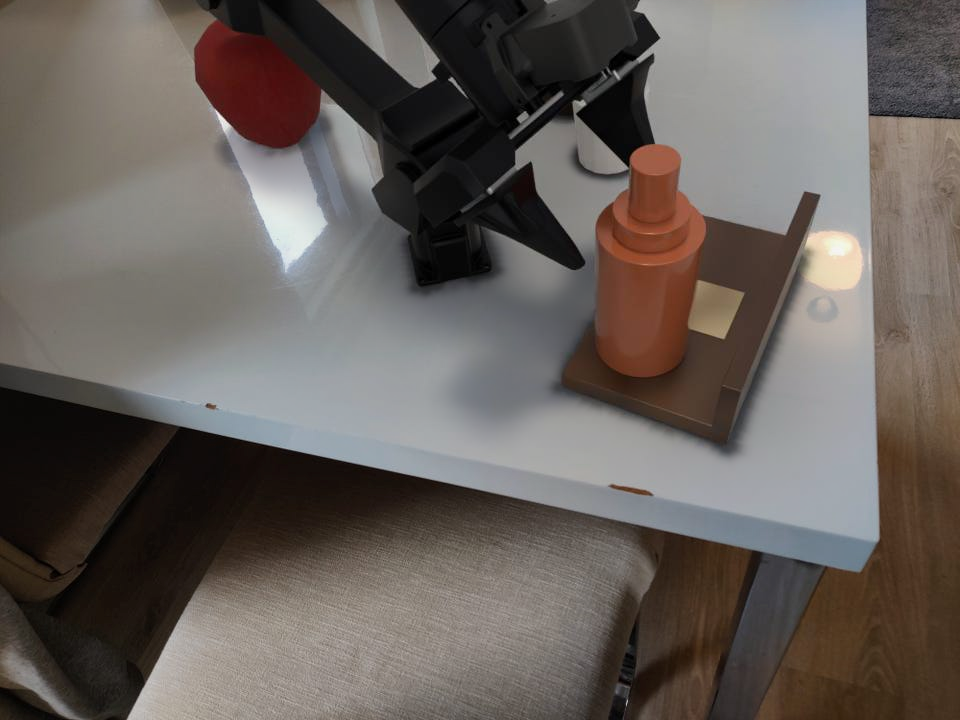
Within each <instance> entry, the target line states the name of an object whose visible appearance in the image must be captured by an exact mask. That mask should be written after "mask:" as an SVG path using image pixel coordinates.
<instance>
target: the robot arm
mask: <svg viewBox="0 0 960 720" xmlns="http://www.w3.org/2000/svg"><path fill="white" fill-rule="evenodd" d="M393 1H394V2H395V4H397V6H398V7H399V9H400V10H401V12H402V13H403V14H404V16H405V17H406V18H407V20H408V21H409V22H410V23H411V25H412V26H413V27H414V28H415V30H416V31H417V32H418V34H419V35H420V36H421V38H422V39H423V40H424V42H425V43H426V45H427V46H428V47H429V49H430V50H431V51H432V52H433V54H434V55H435V57H436V58H437V59H438V62H437V63H436V65H435V66H434V67H433V68H431V69H432V70H430V72H431V74H433V76H434V77H435V79H433V80H432V81H430V82H428V83H426V84H425V85H423V86H421V87H417V86H414V85H413V84H411V83H410V82H409V81H408V80H407V79H406V78H405V77H404V76H402V75H401V74H400V73H399V72H398V71H397V70H396V69H394V68H393V66H392V65H390V64H389V63H388V62H387V61H385V59H383V58H382V57H381V56H380V55H379V54H378V53H377V52H376V51H375V50H374V49H373V48H372V47H370V46H369V45H368V44H367V43H366V42H365V41H363V40H362V39H361V38H360V37H359V36H358V35H357V34H356V33H354V31H353V30H351V28H349V26H347V25H346V24H345V23H343V21H341V20H340V19H339V18H338V17H337V16H336V15H335V14H334V13H333V12H331V10H329V9H328V8H327V7H326V6H325V5H324V4H323V3H321V2H320V1H319V0H195V2H196V3H197V5H198V6H199V7H200V8H201V9H202V10H203V11H205V12H209V13H210V15H212V16H213V17H214V18H215V19H216V20H217V19H218V20H219V21H221V22H222V23H223V24H225V25H226V26H227V27H229V28H230V29H231V30H233V31H235V32H241V33H246V34H252V35H258V36H264V37H267V38H268V39H270V40H271V41H272V42H273V43H274V44H275V45H276V46H277V47H278V48H279V49H280V50H281V51H282V52H283V53H284V54H285V55H286V56H287V57H288V58H289V59H291V60H292V61H293V62H294V63H295V64H296V65H297V66H298V67H299V68H300V69H301V70H302V71H303V72H304V73H305V74H306V75H307V76H308V77H309V78H310V79H312V80H313V81H314V82H315V83H316V84H317V85H318V86H319V87H320V88H321V91H323V92H324V93H325V94H326V95H328V97H329V98H330V99H331V100H332V101H333V102H334V103H335V104H336V105H338V106H339V108H341V110H343V112H345V113H346V114H347V115H348V116H349V117H350V118H351V119H352V120H353V121H354V122H355V123H356V124H357V125H359V126H360V128H361V129H363V130H364V131H365V132H366V133H367V134H368V135H369V136H370V137H371V138H372V139H373V140H374V141H375V142H376V145H377V150H378V155H379V161H380V166H381V171H382V177H381V178H380V180H378V181H377V183H375V185H373V187H371V193H372V195H373V197H374V199H375V202H376V204H377V206H378V208H379V210H380V212H381V213H382V214H383V215H384V216H385V217H387V218H389V219H390V220H391V221H393V222H394V223H396V225H397V224H398V225H399V226H400V227H402V228H403V229H404V230H406V231H407V232H408V233H410V234H408V235H407V242H408V246H409V247H408V248H409V253H410V257H411V258H410V259H411V262H412V266H413V272H414V277H415V282H416V285H417V286H418V287H420V288H424V287H428V286H429V287H430V286H433V285H438V284H443V283H448V282H451V281H456V280H461V279H465V278H470V277H475V276H479V275H483V274H488V273H491V272H492V271H493V270H494V268H493V267H494V266H493V262H492V259H491V255H490V252H489V249H488V245H487V242H486V240H485V236H484V233H483V229H482V228H485V229H486V230H490V231H492V232H495V233H497V234H499V235H502V236H504V237H507V238H509V239H510V240H511V239H512V240H513V241H516V242H517V243H519V244H521V245H523V246H525V247H527V248H529V249H530V250H533V251H535V252H536V253H538V254H540V255H542V256H544V257H546V258H547V259H549V260H551V261H554V262H555V263H557V264H559V265H561V266H563V267H565V268H567V269H568V270H571V271H573V272H574V271H575V272H576V271H578V270H580V269H583V268H584V267H585V265H586V260H585V258H584V256H583V255H582V253H581V251H580V249H579V248H578V247H577V244H576V243H575V241H574V240H573V239H572V237H571V236H570V235H569V233H568V232H567V231H566V229H565V228H564V227H563V225H562V224H561V223H560V221H559V220H558V218H557V217H556V216H555V214H554V213H553V212H552V211H551V209H550V208H549V207H548V205H547V204H546V203H545V201H544V200H543V199H542V196H540V194H539V193H538V190H537V185H536V178H535V171H534V165H533V162H532V161H529V162H528V163H526V164H525V165H523V166H522V167H520V168H519V169H517V168H516V167H515V166H516V151H518V150H519V149H520V148H521V147H522V146H523V145H524V144H526V143H527V142H528V141H529V140H531V138H533V137H534V136H535V135H536V134H537V133H539V132H540V131H541V130H542V129H543V128H544V127H545V126H547V125H548V124H549V123H550V122H551V121H552V120H554V119H555V118H556V117H557V116H558V115H559V113H560V112H562V111H563V110H564V109H565V108H566V107H567V106H569V105H570V104H571V103H572V102H573V101H574V100H575V101H579V102H580V101H582V100H584V101H585V103H586V105H585V106H584V107H583V108H581V109H580V110H579V111H578V112H577V113H576V115H577V116H578V117H579V119H580V120H581V121H582V122H583V123H584V124H585V125H586V126H587V127H588V128H589V129H590V130H591V131H592V132H593V133H594V134H595V135H596V136H597V137H598V138H599V139H600V140H601V141H602V142H603V143H604V144H605V145H606V146H607V147H608V148H609V149H610V150H611V151H612V152H613V153H614V154H615V155H616V156H617V157H618V158H619V159H620V160H621V161H622V162H623V163H624V164H625V165H626V166H627V167H628V168H629V167H630V157H631V155H632V153H633V152H634V151H635V150H636V149H638V148H640V147H642V146H645V145H650V144H656V140H655V137H654V134H653V130H652V127H651V123H650V118H649V114H648V108H647V109H646V104H645V98H644V91H645V86H646V81H647V82H648V76H649V72H650V68H651V67H652V65H654V63H655V58H656V57H655V53H654V52H652V53H650V54H649V55H648V56H647V57H646V58H644V59H643V60H641V61H640V62H639V61H638V59H639V58H640V57H641V56H642V55H643V54H644V53H646V52H647V51H648V50H649V49H651V47H653V46H654V45H655V44H656V43H657V42H658V41H660V40H661V37H660V35H659V33H658V32H657V30H656V29H655V28H654V26H653V25H652V24H651V21H650V20H649V19H648V17H647V16H646V14H645V13H643V12H640V11H636V9H637V8H638V5H639V3H640V2H641V0H557V1H554V2H551V3H548V4H547V3H546V2H545V1H544V0H393ZM451 78H452V79H453V80H454V81H455V83H456V84H457V85H458V87H459V88H458V87H457V86H456V85H455V83H454V82H452V81H451V80H450V79H451ZM460 89H461V90H460ZM462 92H463V93H462ZM548 92H550V94H551V95H552V96H553V97H552V98H550V99H549V100H548V101H547V102H546V103H544V101H543V100H542V97H543V96H544V95H545V94H546V93H548ZM552 104H553V105H552ZM523 113H526V115H528V117H526V118H525V119H524V120H523V121H522V122H521V123H520V121H519V120H518V118H519V117H521V115H523Z"/></svg>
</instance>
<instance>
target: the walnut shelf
mask: <svg viewBox="0 0 960 720" xmlns="http://www.w3.org/2000/svg"><path fill="white" fill-rule="evenodd" d="M821 197H822V195H821V194H820V193H814V192H811V191H806V190H805V191H803V193H802V196H801V197H800V200H799V203H798V205H797V207H796V209H795V211H794V214H793V217H792V219H791V221H790V224H789V226H788V229H787V231H786V232H785V233H786V234H782V233H779V232H774V231H770V230H766V229H762V228H759V227H758V228H757V227H753V226H749V225H746V224H745V225H744V224H741V223H737V222H732V221H730V220H724V219H720V218H717V217H713V216H708V215H703V214H701V215H702V217H703V219H704V221H705V225H706V235H705V241H704V247H703V254H702V260H701V266H700V273H699V279H698V285H697V291H696V298H695V304H694V310H693V317H692V323H691V329H690V335H689V342H688V348H687V352H686V354H685V356H684V358H683V359H682V361H681V362H680V363H679V364H678V365H677V366H676V367H675V368H673V369H672V370H670V371H668V372H666V373H664V374H661V375H658V376H653V377H632V376H628V375H624V374H622V373H619V372H617V371H615V370H613V369H612V368H610V367H609V366H608V365H607V364H605V362H604V361H603V360H602V359H601V358H600V356H599V354H598V352H597V350H596V347H595V317H594V318H593V320H592V322H591V323H590V325H589V326H588V329H587V330H586V332H585V334H584V336H583V337H582V339H581V341H580V342H579V344H578V346H577V348H576V349H575V351H574V353H573V354H572V356H571V358H570V359H569V361H568V363H567V365H566V366H565V368H564V370H563V371H562V372H561V382H562V383H561V387H563V388H566V389H568V390H571V391H574V392H577V393H579V394H583V395H585V396H589V397H591V398H593V399H596V400H598V401H602V402H605V403H607V404H610V405H613V406H615V407H618V408H622V409H624V410H627V411H630V412H632V413H635V414H639V415H641V416H644V417H647V418H649V419H652V420H655V421H658V422H661V423H663V424H666V425H669V426H671V427H674V428H677V429H680V430H683V431H685V432H689V433H691V434H695V435H697V436H700V437H702V438H706V439H708V440H711V441H713V442H716V443H719V444H722V445H725V446H727V445H728V443H729V440H730V438H731V436H732V433H733V430H734V428H735V426H736V422H737V420H738V417H739V416H740V412H741V410H742V407H743V405H744V402H745V400H746V397H747V395H748V393H749V390H750V388H751V386H752V383H753V380H754V377H755V375H756V372H757V370H758V368H759V365H760V362H761V360H762V357H763V355H764V352H765V350H766V347H767V344H768V342H769V339H770V337H771V335H772V332H773V331H774V327H775V324H776V322H777V320H778V317H779V315H780V313H781V310H782V307H783V305H784V302H785V299H786V297H787V295H788V292H789V289H790V287H791V285H792V282H793V279H794V277H795V274H796V272H797V269H798V267H799V264H800V262H801V259H802V257H803V254H804V251H805V247H806V245H807V241H808V238H809V235H810V231H811V230H812V229H811V228H812V225H813V222H814V219H815V216H816V213H817V209H818V206H819V202H820V200H821Z"/></svg>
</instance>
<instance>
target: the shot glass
mask: <svg viewBox="0 0 960 720" xmlns="http://www.w3.org/2000/svg"><path fill="white" fill-rule="evenodd" d="M650 93H651V88H650V85H649V82H648V80H647V81H646V86H645V91H644V98H645V104H646V109H647V110H648V105H649V99H650ZM572 103H573V111H574V116H573V119H574V128H575V136H576V146H577V154H578V155H577V156H578V160H579V164H580V165H582V166H583V167H584V169H586V170H588V171H590V172H592V173H595V174H601V175H614V174H620V173H623V172H625V171H628V170H629V168H628V167H627V166H626V165H625V164H624V163H623V162H622V161H621V160H620V159H619V158H618V157H617V156H616V155H615V154H614V153H613V152H612V151H611V150H610V149H609V148H608V147H607V146H606V145H605V144H604V143H603V142H602V141H601V140H600V139H599V138H598V137H597V136H596V135H595V134H594V133H593V132H592V131H591V130H590V129H589V128H588V127H587V126H586V125H585V124H584V123H583V122H582V121H581V120H580V119H579V117H578V116H577V115H576V113H577V112H578V111H579V110H580V109H581V108H583V107H584V106H585V105H586V103H585V101H584V100H582V101H580V102H579V101H575V100H574V101H573V102H572Z"/></svg>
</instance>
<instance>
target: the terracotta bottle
mask: <svg viewBox="0 0 960 720" xmlns="http://www.w3.org/2000/svg"><path fill="white" fill-rule="evenodd" d="M681 164H682V156H681V154H680V152H679V151H678V150H677V149H675V148H674V147H672V146H669V145H666V144H663V143H662V144H661V143H655V144H650V145H645V146H642V147H640V148H638V149H636V150H635V151H634V152H633V153H632V155H631V157H630V167H629V169H628V170H629V171H628V188H626V189H624V190H623V191H621V192H620V193H618V195H617V196H616V198H615V199H614V200H613V201H612V202H611V203H609V204H608V205H607V206H605V208H603V209H602V211H601V212H600V213H599V215H598V217H597V219H596V221H595V227H594V228H595V229H594V237H595V238H594V240H595V241H594V318H595V347H596V350H597V352H598V354H599V356H600V358H601V359H602V360H603V361H604V362H605V364H607V365H608V366H609V367H610V368H612V369H613V370H615V371H617V372H619V373H622V374H624V375H628V376H632V377H653V376H658V375H661V374H664V373H666V372H668V371H670V370H672V369H673V368H675V367H676V366H677V365H678V364H679V363H680V362H681V361H682V359H683V358H684V356H685V354H686V352H687V348H688V342H689V335H690V329H691V323H692V317H693V310H694V304H695V298H696V291H697V285H698V279H699V273H700V266H701V260H702V254H703V247H704V241H705V235H706V225H705V221H704V219H703V217H702V215H703V214H702V213H701V212H700V211H699V210H698V208H697V207H695V206H694V205H693V204H692V203H691V201H690V200H689V199H690V198H688V196H686V194H685V193H684V192H682V191H681V190H679V186H680V185H679V183H680V176H681V168H682V167H681V166H682V165H681Z"/></svg>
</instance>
